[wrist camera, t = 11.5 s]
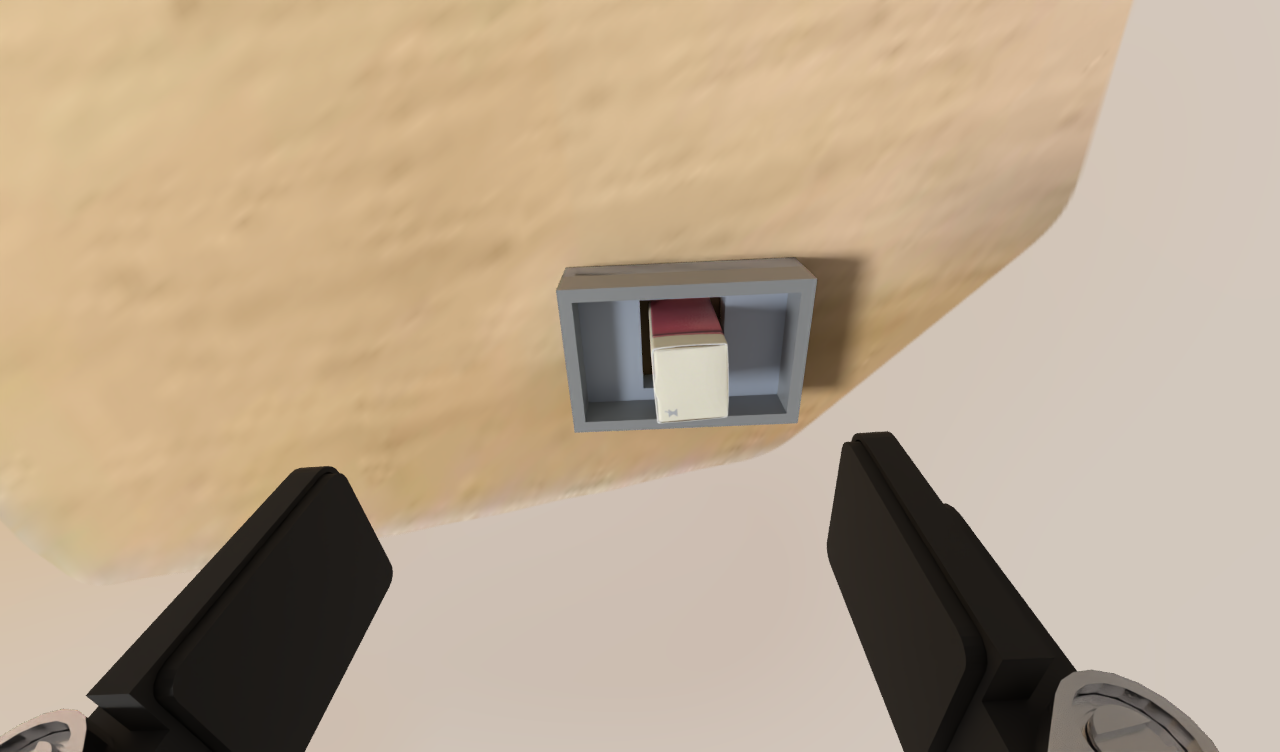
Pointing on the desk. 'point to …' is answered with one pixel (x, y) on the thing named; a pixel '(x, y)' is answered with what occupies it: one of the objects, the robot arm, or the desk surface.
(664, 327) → the small box
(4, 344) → the desk surface
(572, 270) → the walled box
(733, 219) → the desk surface
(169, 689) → the robot arm
